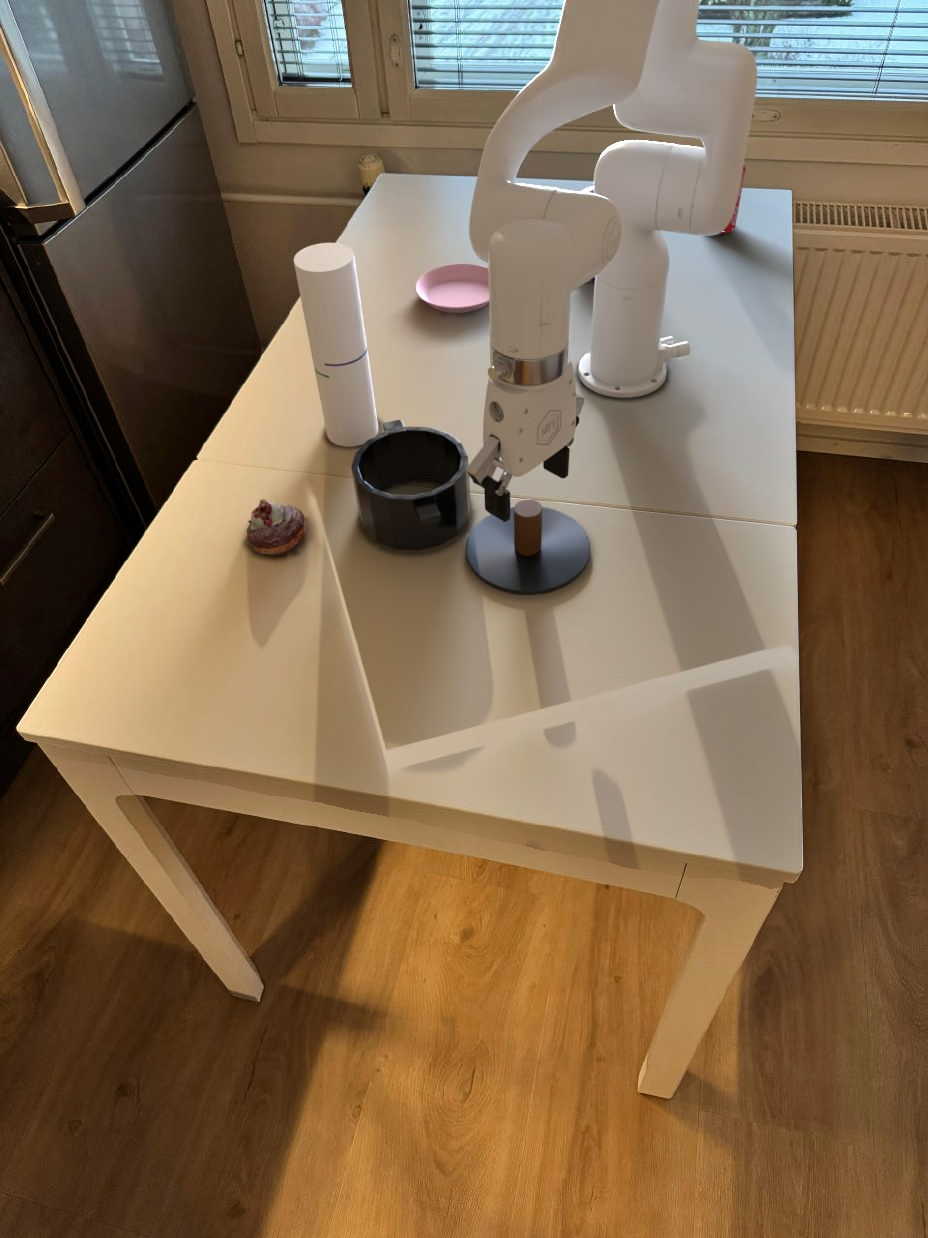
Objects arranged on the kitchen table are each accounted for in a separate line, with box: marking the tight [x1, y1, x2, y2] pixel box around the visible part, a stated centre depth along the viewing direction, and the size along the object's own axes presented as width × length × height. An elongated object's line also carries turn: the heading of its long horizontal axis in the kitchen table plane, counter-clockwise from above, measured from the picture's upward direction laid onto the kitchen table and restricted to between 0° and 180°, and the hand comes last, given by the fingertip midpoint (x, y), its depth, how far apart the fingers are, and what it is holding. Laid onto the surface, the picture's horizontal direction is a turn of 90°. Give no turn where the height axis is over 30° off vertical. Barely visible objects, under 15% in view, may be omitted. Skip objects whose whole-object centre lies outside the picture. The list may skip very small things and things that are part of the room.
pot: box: [350, 419, 472, 552], centre depth 110 cm, size 14×19×8 cm
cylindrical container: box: [293, 242, 379, 448], centre depth 117 cm, size 7×7×25 cm
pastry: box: [246, 498, 309, 557], centre depth 110 cm, size 8×8×5 cm
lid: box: [465, 498, 591, 596], centre depth 105 cm, size 15×15×7 cm
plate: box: [414, 263, 489, 314], centre depth 148 cm, size 14×14×2 cm
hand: (527, 493), depth 101 cm, fingers open, 9 cm apart
